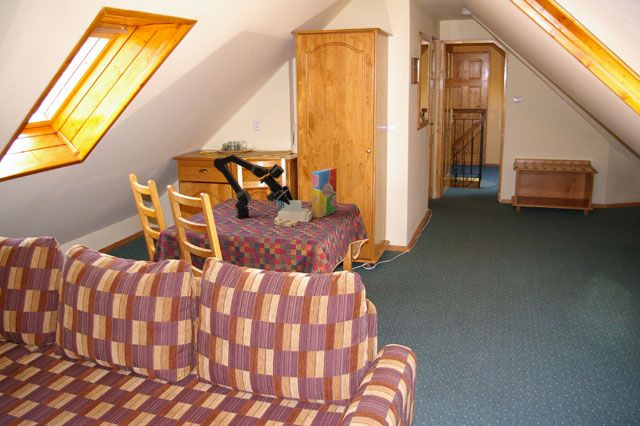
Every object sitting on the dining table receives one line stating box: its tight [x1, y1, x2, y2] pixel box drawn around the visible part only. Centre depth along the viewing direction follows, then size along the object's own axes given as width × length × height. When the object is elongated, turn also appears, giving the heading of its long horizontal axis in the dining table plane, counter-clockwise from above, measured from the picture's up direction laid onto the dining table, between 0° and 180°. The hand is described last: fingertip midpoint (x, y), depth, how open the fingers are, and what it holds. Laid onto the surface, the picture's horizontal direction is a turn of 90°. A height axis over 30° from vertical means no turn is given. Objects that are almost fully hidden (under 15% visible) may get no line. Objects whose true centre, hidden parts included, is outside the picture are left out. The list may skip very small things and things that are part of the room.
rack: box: [274, 208, 313, 223], centre depth 336 cm, size 20×12×5 cm, turn 80°
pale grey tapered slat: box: [284, 199, 303, 211], centre depth 336 cm, size 10×2×10 cm, turn 81°
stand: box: [273, 219, 299, 228], centre depth 323 cm, size 12×6×2 cm, turn 55°
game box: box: [311, 167, 338, 219], centre depth 344 cm, size 21×6×27 cm, turn 149°
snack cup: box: [269, 196, 296, 213], centre depth 354 cm, size 16×10×10 cm
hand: (291, 202), depth 335 cm, fingers open, 9 cm apart
